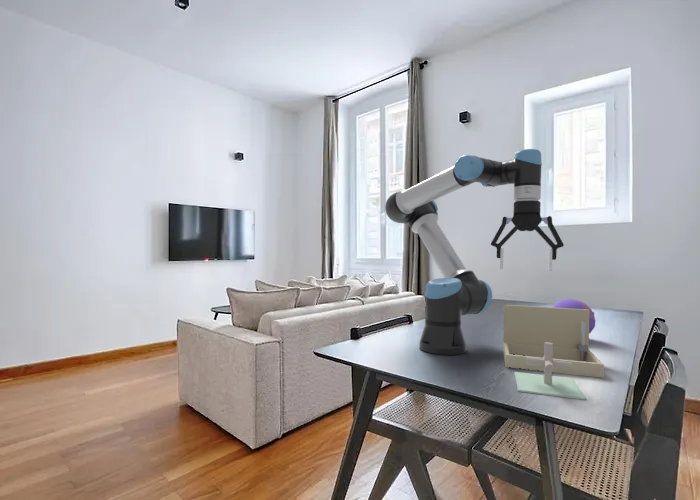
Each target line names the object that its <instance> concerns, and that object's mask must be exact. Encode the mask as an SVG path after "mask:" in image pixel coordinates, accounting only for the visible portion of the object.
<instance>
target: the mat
mask: <svg viewBox="0 0 700 500" xmlns="http://www.w3.org/2000/svg"><path fill="white" fill-rule="evenodd" d="M513 373H514V378H515V383H516V387H517V388H516V389H517V392H519V393H520V392H521V393H527V394H536V395H544V396H552V397H561V398H569V399H576V400H582V401H586V400H587V398H586V396H585V394H584V393H583V391H582V390H581V389H580V386H579V385H578V384H577V381H575V379H574V378H571V377H565V376H564V377H563V376H554V375H552V384H551V385H548V384H545V383H544V374H539V373H538V374H537V373H530V372H529V373H528V372H519V371H518V372H517V371H514V372H513Z"/></svg>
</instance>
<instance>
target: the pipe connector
mask: <svg viewBox="0 0 700 500" xmlns="http://www.w3.org/2000/svg"><path fill="white" fill-rule="evenodd" d="M552 356H553V343H550V342H545V343H544V356H543V357H542V358H543V359H539V358H530V357H526V364H528V365H536V366H544V371H543V375H544V383H545V384H548V385H551V384H552V376H553V373H554V372H553V371H554V368H561V369H569V370H572V363H571V362H565V361H556V360H552V359H553V358H552Z"/></svg>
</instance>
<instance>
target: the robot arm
mask: <svg viewBox="0 0 700 500" xmlns="http://www.w3.org/2000/svg"><path fill="white" fill-rule="evenodd" d="M542 161H543V160H542V153H541V151H540V150H539V149H536V148H525V149H520V150H518V151H516V152H515V153H514V157H513V159H510V160H503V161H498V160H497V161H496V160H493V159H487V158H484V157H480V156H477V155H469V154H464V155H462V156H459V158H458V159H457V160H456V161H455V163H454V165H453V166H451V167H450V168H447V169H445V170H443V171H441V172H439V173H437V174H435V175H433V176H431V177H430V178H428V179H426V180H423V181H421V182H420V183H417V184H415V185H413V186H411V187H409V188H407V189H405V188H404V189H403V188H402V189H399V190H398V191H395V192H393V193H392V194H391V195H389V197H388V198H387V200H386V202H385V205H384V206H385V207H384V209H385V214H386V216H387V217H388V219H390V220H391V221H392V222H394V223H397V224H407V225H408V227H409V228H410V230H411V232H412V233H414V234H418V236H419V238H420V239H421V241H422V242H423V244H424V246H425V248H426V249H427V251H428V253H429V255H430V256H431V258H432V260H433V262H434V263H435V265H436V267H437V269H438V270H439V272H440V273H441V275H442V278H441V277H440V278H434V279H433V278H432V279H431V280H428V281H427V282H426V285H425V291H424V297H425V300H424V302H425V303H424V308H425V310H424V314H425V315H424V320H425V321H424V328H423V330H422V333H421V336H420V339H419V349H420V350H421V351H423V352H426V353H429V354H433V355H434V354H435V355H442V356H454V355H455V356H456V355H462V354H464V353H466V352H467V342H466V340H465V336H464V333H463V328H462V316H466V315H467V316H468V315H477V314H480V313H483V312H485V311H486V310H488V309H489V307H490V306H491V304H492V301H493V300H492V299H493V291H492V288H491V286H490V284H489V283H487V282H486V281H484V280H481V279H478V277H477V275H476V274H475V273H474V271H473V270H470V269H467V267H466V266H465V265H464V263H463V261H462V260H461V259H460V257H459V255H458V254H457V252H456V250H455V249H454V247H453V245H452V244H451V243H450V241H449V239H448V238H447V237H446V234H445V232H444V231H443V230H442V228H441V227H440V225H439V224H438V220H439V216H438V215H439V213H438V210H439V209H438V206H437V203H436V202H435V200H437V199H439V198H441V197H444V196H446V195H448V194H451V193H453V192H456V191H457V190H460V189H462V188H464V187H468V186H469V185H471V184H473V183H474V184H475V183H480V184H481V186H483V187H490V188H491V187H492V188H493V187H494V188H495V187H497V186H505V185H512V184H513V186H514V187H513V200H514V202H513V212H512V213H513V215H512V217H508V216H503V217H502V220H501V225H500V227H499V228H498V229H497V232H496V234H495V235H494V237H493V238H492V240H491V242H490V245H491V247H492V246H493V247H495V248H496V258H497V259H500V260H499V261H500V264H499V265H500V266H499V267H500V268H499V269H500V270H504V248H502V247H503V246H504V245H505V244H506V242H507V241H508V240H509V239H510V238H511V237H512V236H513V235H514V234H515V233H516V232H517V231H520V232H525V231H526V232H533V231H535V232H537V234H538V235H539V236H540V237H541V238H542V239H543V240H544V241H545V243H547V245H549V247H550V248H551V249H548V265H547V266H548V267H547V270H548V272H552V271H553V260H554V261H556V259H557V253H558V252H557V250H558V249H560V248H563V247H564V242H563V241H562V239H561V237H560V235H559V233H558V231H557V229H556V227H555V226H554V223H553V218H552V216H551V215H548V216H545V217H542V216H541V202H540V200H541V198H542V197H541V196H542V194H541V192H542V190H541V189H542V186H541V185H542V182H541V181H542V166H543V163H542ZM510 222H511V223H512V224H513V225H514V226H513V227H512V229H511V230H510V231H509V232H508V233H507V234H506V235H505V236H504V237H503V238H502V239H501V240H500V241H499V242H498V240H499V239H500V236H501V235H502V233H503V232H504V229H505V228H506V226H507V225H509V224H510ZM541 222H543V223H544V224H546V225H547V227H548V229H549V231H550V233H551V235H552V236H553V238H554V240H555V242H556V244H555V242H554V241H553V240H552V239H551V238H550V237H549V236H548V235H547V234H546V233H545V232H544V231H543V230H542V228H541V227H540V225H541Z"/></svg>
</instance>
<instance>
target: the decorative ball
mask: <svg viewBox="0 0 700 500" xmlns="http://www.w3.org/2000/svg"><path fill="white" fill-rule="evenodd" d="M552 308H570V309H587V310H589V335H590V334H591V333H592V331H593V330H594V329H595V327H596V317H595V312H594V311H593V310H592V308H591V307H590V306H589V305H587V304H586V303H585V302H583V301H581V300H578V299H573V298H567V299H562V300H559V301H558V302H556V303H555V304H554V305H553V306H552Z"/></svg>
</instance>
